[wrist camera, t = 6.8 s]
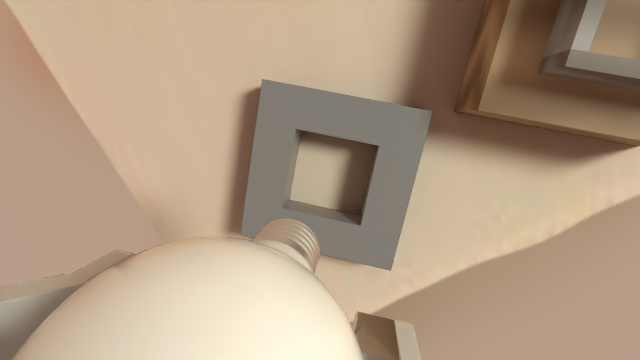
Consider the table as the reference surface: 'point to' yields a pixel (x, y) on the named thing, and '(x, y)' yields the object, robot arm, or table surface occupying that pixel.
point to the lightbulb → (204, 305)
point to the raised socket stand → (558, 67)
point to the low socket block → (348, 123)
